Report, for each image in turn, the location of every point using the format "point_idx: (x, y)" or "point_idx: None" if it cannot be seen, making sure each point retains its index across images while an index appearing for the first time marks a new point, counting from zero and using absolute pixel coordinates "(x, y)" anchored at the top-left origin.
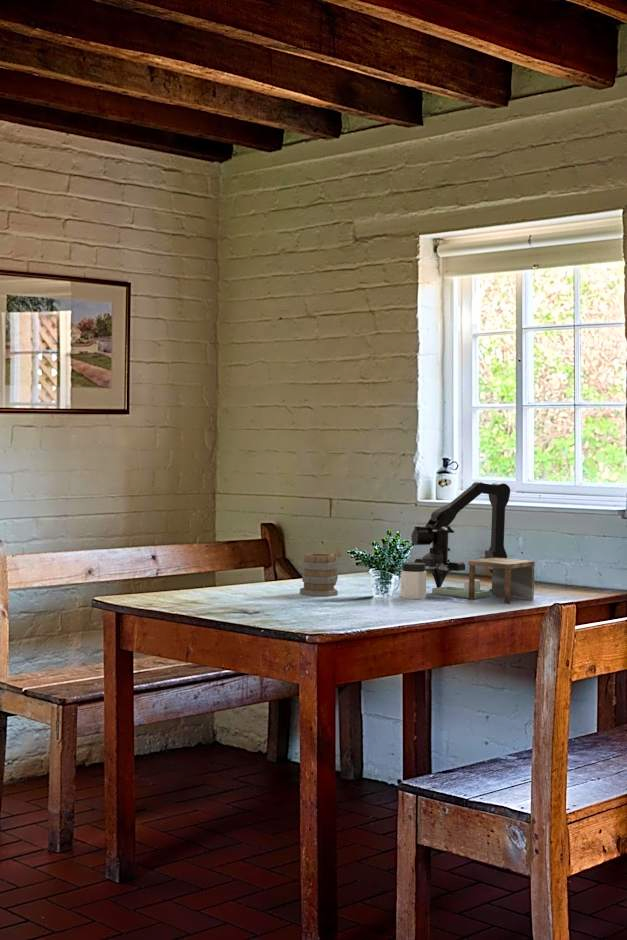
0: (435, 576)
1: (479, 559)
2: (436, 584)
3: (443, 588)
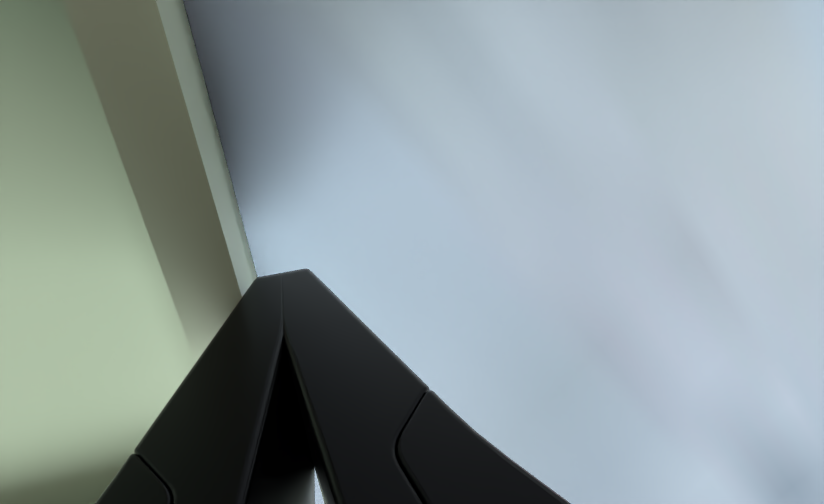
0: (379, 486)
1: None
2: (324, 307)
3: None
